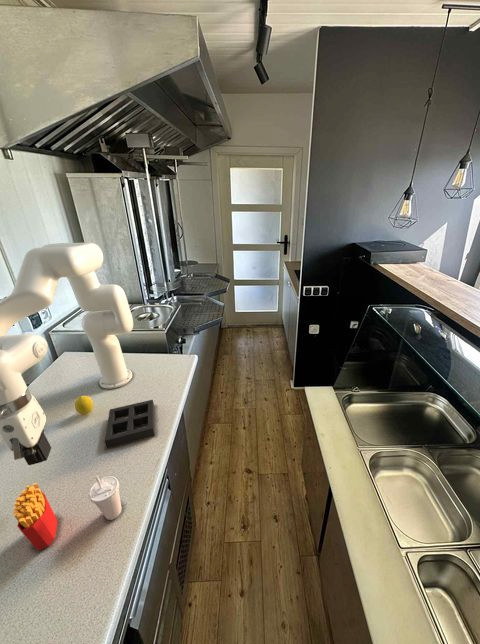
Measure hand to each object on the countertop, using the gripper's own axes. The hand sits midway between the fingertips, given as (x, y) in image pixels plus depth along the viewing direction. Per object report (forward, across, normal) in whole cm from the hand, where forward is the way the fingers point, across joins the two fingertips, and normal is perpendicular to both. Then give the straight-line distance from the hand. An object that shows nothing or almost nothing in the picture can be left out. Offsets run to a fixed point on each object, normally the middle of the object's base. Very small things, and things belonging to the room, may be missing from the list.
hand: (39, 454), depth 74 cm
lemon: (+14, +28, -3) cm, 31 cm away
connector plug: (+1, 0, 0) cm, 1 cm away
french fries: (+13, -13, -1) cm, 18 cm away
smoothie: (+13, -13, -16) cm, 24 cm away
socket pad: (+13, +16, -19) cm, 28 cm away
